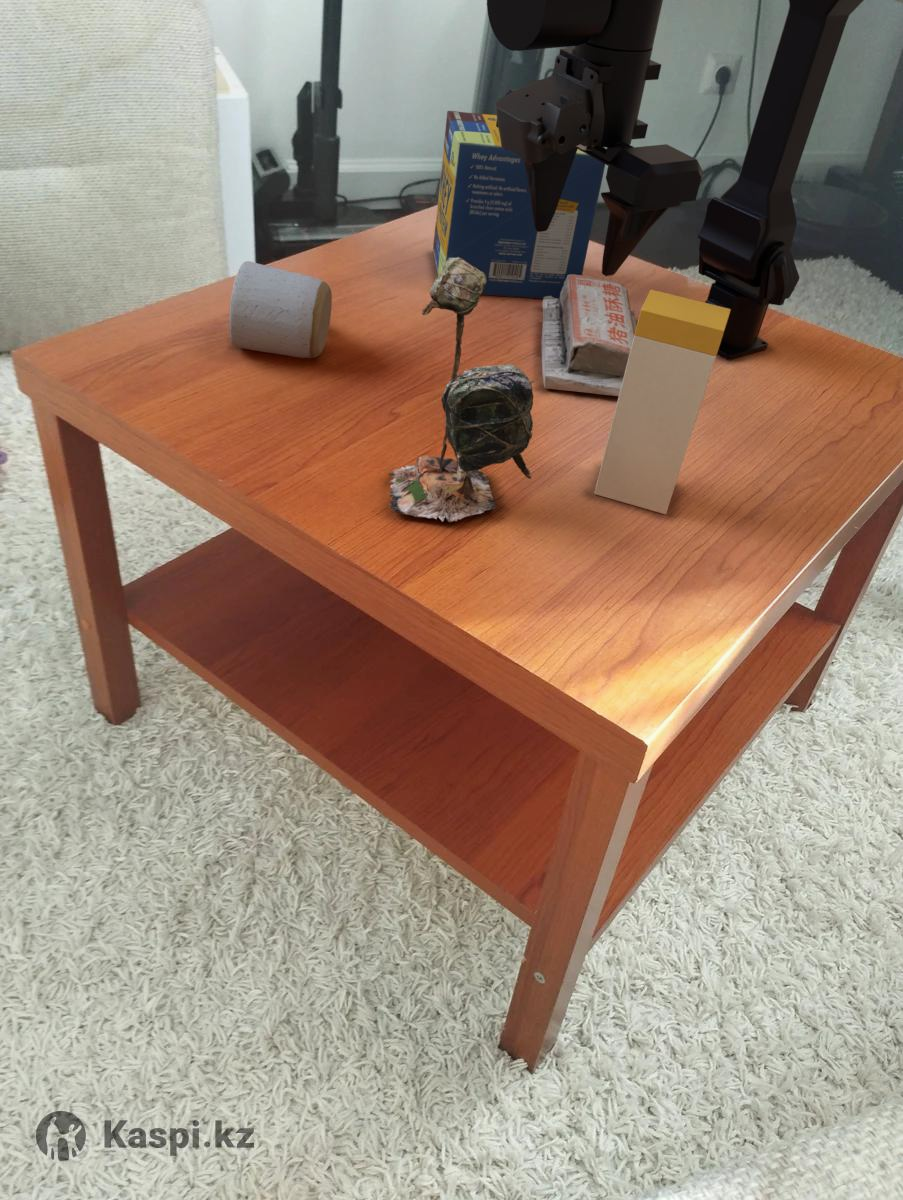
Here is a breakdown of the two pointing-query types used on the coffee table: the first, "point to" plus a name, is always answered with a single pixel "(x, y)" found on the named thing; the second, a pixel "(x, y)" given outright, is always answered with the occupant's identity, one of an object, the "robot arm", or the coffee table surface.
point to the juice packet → (660, 399)
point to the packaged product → (587, 336)
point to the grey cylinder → (279, 311)
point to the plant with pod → (467, 419)
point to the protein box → (509, 213)
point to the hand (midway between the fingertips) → (573, 252)
